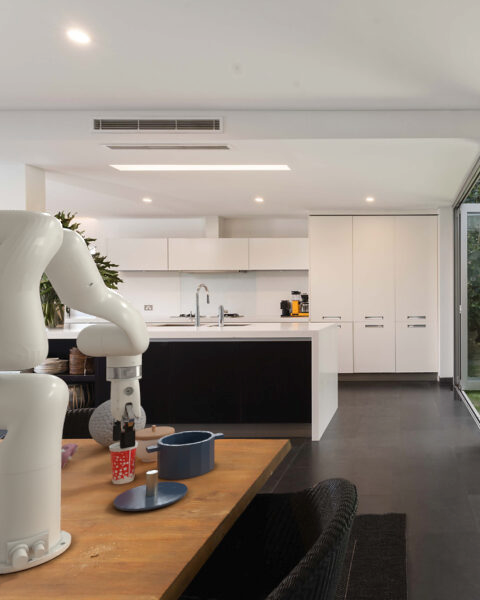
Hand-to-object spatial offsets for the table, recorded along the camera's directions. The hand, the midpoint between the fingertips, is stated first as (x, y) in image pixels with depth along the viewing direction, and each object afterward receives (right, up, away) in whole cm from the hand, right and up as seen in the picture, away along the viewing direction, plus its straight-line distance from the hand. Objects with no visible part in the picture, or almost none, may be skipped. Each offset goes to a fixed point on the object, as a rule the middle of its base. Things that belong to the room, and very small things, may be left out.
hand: (123, 443), depth 112 cm
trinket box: (-2, -10, +16) cm, 19 cm away
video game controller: (-23, -10, +10) cm, 27 cm away
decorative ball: (-19, -10, +27) cm, 35 cm away
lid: (+13, -9, -11) cm, 19 cm away
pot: (+12, -9, +7) cm, 17 cm away
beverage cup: (0, -9, 0) cm, 9 cm away
